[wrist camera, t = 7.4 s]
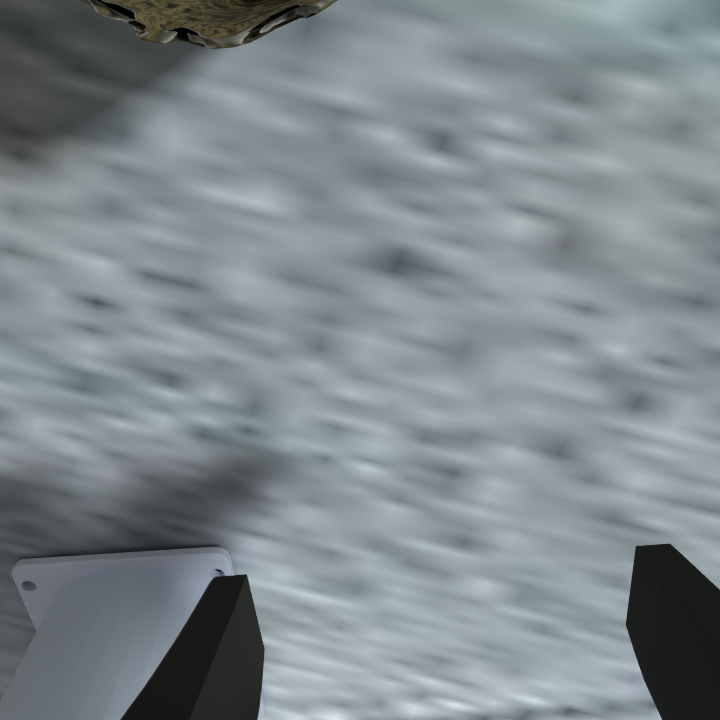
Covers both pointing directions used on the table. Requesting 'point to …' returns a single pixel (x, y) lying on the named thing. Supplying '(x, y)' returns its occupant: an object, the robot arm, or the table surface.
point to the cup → (207, 18)
